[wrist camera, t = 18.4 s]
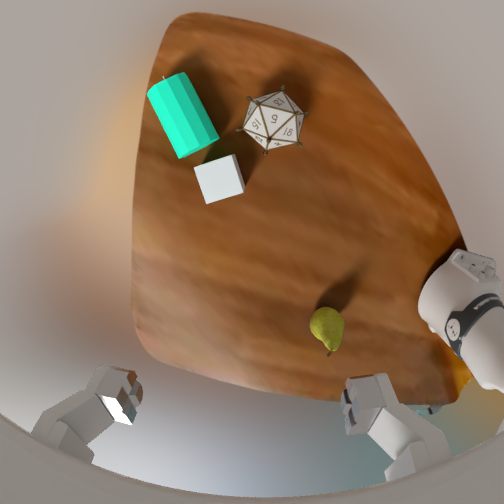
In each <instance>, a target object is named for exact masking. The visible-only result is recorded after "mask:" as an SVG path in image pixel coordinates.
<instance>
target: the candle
mask: <svg viewBox="0 0 504 504" xmlns="http://www.w3.org/2000/svg"><path fill="white" fill-rule="evenodd" d="M162 77H163V79H164V80H163V81H161V82H159V83H157V84H155V85H154V86H153V87H152V88H151V89H150V90H149V91H148V94H147V96H148V98H149V100H150V102H151V104H152V106H153V108H154V110H155V112H156V114H157V116H158V118H159V120H160V122H161V124H162V126H163V128H164V130H165V132H166V134H167V136H168V138H169V140H170V142H171V144H172V146H173V148H174V150H175V152H176V154H177V156H178V158H179V159H180V158H183V157H185V156H188V155H190V154H192V153H194V152H196V151H198V150H200V149H202V148H204V147H206V146H208V145H210V144H211V143H213V142H215V141H217V140H218V139H219V136H218V134H217V132H216V130H215V128H214V126H213V124H212V122H211V120H210V118H209V116H208V114H207V112H206V110H205V108H204V106H203V104H202V103H201V101H200V99H199V97H198V95H197V93H196V91H195V89H194V87H193V85H192V83H191V81H190V80H189V78H188V76H187V75H186V74H185V73H184V72H182V73H179V74H176V75H174V76H171V77H169V78H167V79H165V78H164V76H162Z"/></svg>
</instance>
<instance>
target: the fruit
mask: <svg viewBox="0 0 504 504" xmlns="http://www.w3.org/2000/svg"><path fill="white" fill-rule="evenodd" d="M310 328H311V331H312V333H313V334H314V336H315V337H317V338H318V339H319V340H321V341H323V343H324V344H325V346H326V347H327V348H328V349H329V350H330V352H329V353H328V354H327V357H329V356H330V355H331V353H332V351H335V350H337V349H338V347H339V345H340V342H341V337H342V332H343V330H344V320H343V318H342V316H341V315H340V314H339V313H338V312H337V311H336V310H335V309H333V308H331V307H321V308H319V309H317V310H316V311H315V312H314V314H313V315H312V317H311V320H310Z"/></svg>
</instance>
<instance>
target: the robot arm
mask: <svg viewBox="0 0 504 504" xmlns="http://www.w3.org/2000/svg"><path fill="white" fill-rule="evenodd" d="M495 270H496V263H495V261H494V260H493V259H491V258H488V257H485V256H481V255H478V254H475V253H471V252H468V251H464V250H461V249H456V250H455V251H454V252H453V253H452V254H451V256H450V257H449V259H448V260H447V261H446V262H445V263H444V264H443V265H441V266H440V267H439V268H438V269H437V270H436V271H435V272H434V273H433V274H432V275H431V276H430V277H429V279H428V280H427V282H426V284H425V285H424V287H423V289H422V292H421V294H420V298H419V303H418V310H419V314H420V316H421V318H422V319H423V320H425V321H426V322H427V323H428V325H429V329H430V330H431V331H432V332H434V333H435V332H436V333H437V334H438V335H439V336H440V337H441V338H442V339H443V340H444V341H445V342H446V343H447V344H448V345H449V346H450V347H451V348H452V349H453V351H454V353H455V354H456V355H457V356H458V357H459V359H461V360H464V362H465V363H466V365H467V366H468V368H469V369H470V371H471V372H472V374H473V375H474V377H475V378H476V380H477V381H478V383H479V384H480V386H482V387H483V388H484V389H495V388H496V389H498V390H500V391H501V392H503V393H504V305H503V304H502V301H501V299H500V295H501V288H502V284H501V280H500V278H499V277H498V276H497V275H496V274H495ZM136 378H137V375H136V373H135V372H134V371H131V370H127V369H122V368H118V367H113V366H109V365H104V364H101V365H100V366H99V367H98V368H97V370H96V372H95V373H94V375H93V377H92V378H91V380H90V382H89V383H88V385H87V387H86V388H85V390H84V391H83V390H81V391H79V392H77V393H76V394H74V395H72V396H70V397H69V398H67V399H65V400H63V401H62V402H60V403H58V404H57V405H55V406H53V407H51V408H49V409H47V410H46V411H44V412H43V413H42V415H41V416H40V418H39V420H38V421H37V423H36V425H35V427H34V428H33V430H32V432H31V433H29V432H28V431H26V430H25V429H23V428H21V427H20V426H18V425H17V424H15V423H14V422H12V421H11V420H9V419H8V418H7V417H5V416H4V415H2V414H1V413H0V504H504V419H503V421H502V423H501V425H500V427H499V430H498V432H497V434H496V435H495V436H493V437H491V438H490V439H488V440H486V441H485V442H483V443H481V444H479V445H477V446H476V447H474V448H472V449H470V450H468V451H466V452H464V453H462V454H460V455H458V456H455V457H452V454H451V451H450V449H449V446H448V443H447V441H446V438H445V436H444V433H443V432H442V431H441V430H439V429H438V428H437V427H435V426H434V425H432V424H431V423H429V422H428V421H426V420H425V419H424V418H422V417H421V416H419V415H418V414H417V413H415V412H414V411H412V410H411V409H410V408H408V407H407V406H405V405H404V404H403V403H402V404H399V402H398V400H397V397H396V395H395V392H394V390H393V387H392V385H391V382H390V380H389V378H388V375H387V374H386V373H379V374H373V375H372V374H370V375H364V376H356V377H349V378H348V379H347V381H346V389H345V390H343V393H342V396H341V408H342V412H343V413H344V414H345V415H346V416H347V417H346V419H345V427H346V432H347V435H353V434H360V433H367V432H368V434H369V435H370V436H371V437H372V438H373V439H374V440H375V441H376V442H377V443H378V444H379V445H380V446H381V447H382V448H383V449H384V450H385V451H386V452H387V453H388V454H389V455H390V456H391V457H392V458H393V459H394V460H395V461H394V462H393V463H392V464H391V465H390V466H389V467H388V468H387V469H386V470H385V471H384V472H385V476H386V481H387V482H383V483H379V484H375V485H371V486H367V487H363V488H357V489H353V490H347V491H341V492H335V493H328V494H319V495H311V496H300V497H273V498H256V497H255V498H254V497H234V496H222V495H212V494H204V493H197V492H191V491H185V490H179V489H174V488H169V487H164V486H160V485H156V484H152V483H148V482H144V481H141V480H137V479H133V478H130V477H127V476H124V475H121V474H118V473H115V472H112V471H109V470H106V469H104V468H101V467H98V466H96V465H94V464H91V462H92V460H93V457H94V453H93V451H92V450H91V449H90V448H89V447H88V446H87V444H88V443H89V442H91V441H92V440H93V439H94V438H96V437H97V436H98V435H99V434H100V433H102V432H103V431H104V430H105V429H107V428H108V427H109V426H110V425H111V424H112V423H114V421H118V422H123V423H127V424H131V425H132V424H133V421H134V419H135V416H136V414H137V411H136V407H137V406H139V405H140V403H141V401H142V397H143V390H142V386H141V384H140V383H139V382H138V381H137V380H136Z"/></svg>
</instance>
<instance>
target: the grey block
mask: <svg viewBox="0 0 504 504" xmlns="http://www.w3.org/2000/svg"><path fill="white" fill-rule="evenodd" d="M194 170H195V172H196V175H197V178H198V181H199V184H200V187H201V190H202V193H203V196H204V199H205V201H206V204H208V203H211V202H214V201H217V200H221V199H224V198H227V197H230V196H234V195H237V194H240V193H243V192H244V189H245V184H244V181H243V178H242V175H241V172H240V169H239V165H238V162H237V159H236V156H235V154H232V155H229V156H226V157H223V158H219V159H216V160H213V161H210V162H207V163H204V164H202V165H199V166H197V167H194Z"/></svg>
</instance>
